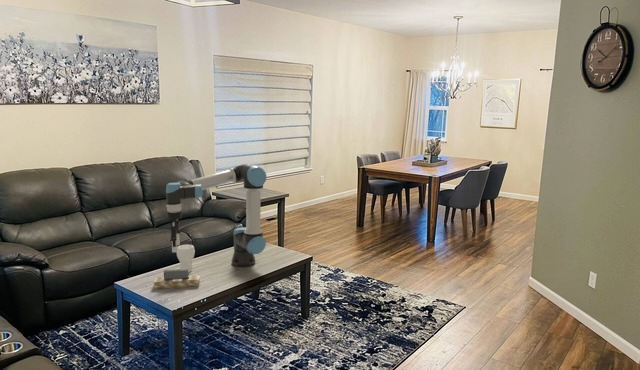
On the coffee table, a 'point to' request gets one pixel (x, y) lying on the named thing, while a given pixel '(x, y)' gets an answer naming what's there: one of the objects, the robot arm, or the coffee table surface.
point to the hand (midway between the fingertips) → (176, 248)
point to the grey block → (176, 274)
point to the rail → (177, 282)
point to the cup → (185, 256)
